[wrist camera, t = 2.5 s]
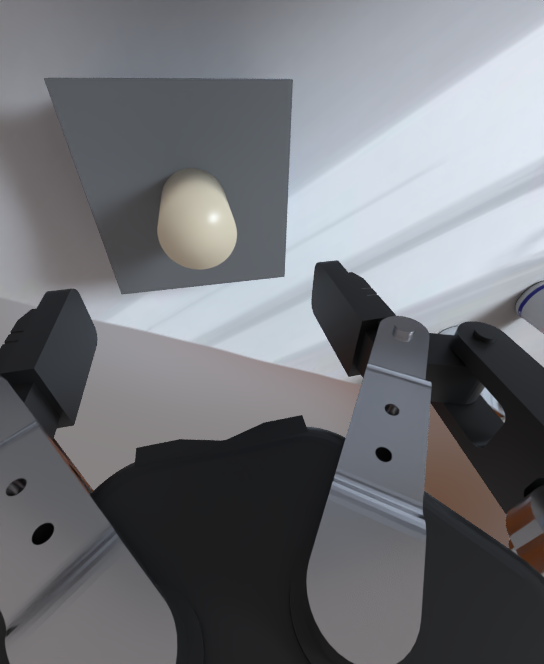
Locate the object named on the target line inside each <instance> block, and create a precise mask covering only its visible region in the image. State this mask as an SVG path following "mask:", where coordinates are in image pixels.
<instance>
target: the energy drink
mask: <svg viewBox="0 0 544 664" xmlns="http://www.w3.org/2000/svg"><path fill="white" fill-rule="evenodd" d="M516 313H517V314H518V315H519V316H521V317H522V318H523V319H525V320H526V321H527V322H529V323H530V324H531V325H533V326H534V327H535V328H537V329H538V330H539V331H541V332H542V333H543V334H544V281H542V282H539V283H537V284H535V285H533V286H532V287H530V288H529V289H527V290H526V291H525V292H524V293H523V294H522V295H521V296H520V298H519V299H518V301H517V303H516Z"/></svg>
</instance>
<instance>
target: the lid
mask: <svg viewBox="0 0 544 664" xmlns="http://www.w3.org/2000/svg"><path fill="white" fill-rule="evenodd" d="M44 80H45V83H46V86H47V88H48V91H49V94H50V97H51V100H52V102H53V105H54V108H55V111H56V113H57V116H58V119H59V122H60V124H61V127H62V130H63V133H64V136H65V138H66V141H67V144H68V147H69V149H70V152H71V155H72V158H73V160H74V163H75V166H76V169H77V172H78V174H79V177H80V180H81V183H82V185H83V188H84V191H85V194H86V197H87V199H88V202H89V205H90V208H91V210H92V213H93V216H94V219H95V221H96V224H97V227H98V230H99V233H100V235H101V238H102V241H103V244H104V246H105V249H106V252H107V255H108V258H109V260H110V263H111V266H112V269H113V271H114V274H115V277H116V280H117V282H118V285H119V288H120V291H121V294H130V293H139V292H148V291H157V290H166V289H176V288H185V287H194V286H203V285H212V284H222V283H231V282H240V281H249V280H258V279H268V278H277V277H284V274H285V251H286V227H287V203H288V179H289V156H290V132H291V108H292V84H293V80H292V79H201V78H44Z"/></svg>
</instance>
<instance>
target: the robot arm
mask: <svg viewBox="0 0 544 664" xmlns="http://www.w3.org/2000/svg"><path fill="white" fill-rule="evenodd" d="M312 309H313V313H314V315H315V317H316V319H317V321H318V322H319V324H320V326H321V328H322V330H323V331H324V333H325V335H326V337H327V339H328V341H329V342H330V344H331V346H332V348H333V350H334V351H335V353H336V355H337V357H338V359H339V360H340V362H341V364H342V366H343V368H344V369H345V371H346V373H347V375H348V377H350V376H355V375H361V376H362V377H363V381H362V385H361V388H360V392H359V395H358V398H357V402H356V405H355V408H354V412H353V415H352V419H351V422H350V425H349V429H348V432H347V435H346V438H345V437H343V436H341V435H339V434H336V433H333V432H331V431H328V430H324V429H320V428H314V427H306V425H305V422H304V419H303V416H302V415H301V416H296V417H290V418H285V419H280V420H276V421H270V422H266V423H262V424H260V425H258V426H256V427H254V428H251V429H249V430H247V431H245V432H243V433H241V434H238V435H236V436H234V437H232V438H230V439H227V440H223V441H214V440H182V439H179V440H175V441H169V442H164V443H159V444H154V445H149V446H144V447H140V448H136V458H135V462H134V463H132V464H130V465H128V466H126V467H124V468H123V469H121V470H119V471H118V472H116V473H115V474H113V475H112V476H111V477H109V478H108V479H107V480H105V481H104V482H103V483H102V484H101V485H100V486H98V487H97V488H96V489H95V490H93V489H92V488H91V486H90V485H89V484H88V483H87V481H86V480H85V479H84V477H83V476H82V475H81V473H80V472H79V471H78V469H77V468H76V467H75V465H74V464H73V463H72V461H71V460H70V459H69V457H68V456H67V455H66V453H65V452H64V451H63V450H62V448H61V447H60V445H59V444H58V443H57V441H56V440H55V439H54V435H55V432H56V429H57V428H61V427H67V426H72V425H74V424H75V420H76V417H77V413H78V410H79V406H80V402H81V399H82V395H83V392H84V388H85V385H86V381H87V378H88V374H89V371H90V367H91V364H92V360H93V356H94V353H95V350H96V346H97V333H96V329H95V326H94V324H93V322H92V320H91V317H90V315H89V313H88V311H87V309H86V307H85V305H84V302H83V300H82V298H81V296H80V294H79V292H78V291H77V290H76V289H66V290H57V291H48V292H46V293H45V295H44V297H43V298H42V300H41V302H40V304H39V305H38V307H37V309H32V310H30V311H29V312H28V313H27V314H25V315H24V316H23V317H21V318H20V319H19V320H18V321H17V322H16V324H15V326H14V327H13V329H12V330H11V334H10V335H8V337H7V338H6V340H5V344H3V345H2V346H1V348H0V664H544V368H543V367H542V366H541V365H540V364H539V363H538V362H537V361H536V360H534V359H533V358H532V357H531V356H530V355H529V354H528V353H527V352H525V351H524V350H523V349H522V348H521V347H520V346H519V345H517V344H516V343H515V342H514V341H513V340H512V339H511V338H510V337H508V336H507V335H506V334H505V333H504V332H502V331H501V330H499V329H497V328H496V327H493V326H491V325H488V324H485V323H481V322H465V323H462V324H460V325H459V326H458V328H457V330H456V332H455V334H454V335H446V334H433V333H429V332H428V330H427V329H426V327H425V326H423V325H422V324H421V323H419V322H418V321H416V320H414V319H411V318H408V317H403V316H396V315H395V314H394V313H393V311H392V310H391V309H390V308H389V307H388V306H387V305H386V303H385V302H384V301H383V300H382V299H381V298H380V297H379V296H378V295H377V293H376V292H375V291H374V290H373V289H371V286H370V285H369V284H368V283H367V282H366V281H365V280H364V279H363V278H362V277H360V276H358V275H356V274H354V273H353V272H349V273H348V272H347V271H346V269H345V268H344V267H343V266H342V265H341V263H340V262H339V261H337V260H336V261H327V262H318V263H317V264H316V266H315V271H314V280H313V290H312ZM484 388H486V389H487V390H488V391H489V392H490V393H491V395H492V396H493V397H494V398H495V399H496V400H497V401H498V402H499V404H500V405H501V406H502V408H503V410H504V413H505V422H503V421H502V420H501V418H500V417H499V416H498V415H497V414H496V412H495V411H494V410H493V409H492V408H491V407H490V405H489V404H488V403H487V402H486V401H485V399H484V398H483V397H482V396H481V395H480V394H481V392H482V391H483V389H484ZM430 403H431V404H432V406H433V407H434V409H435V410H436V412H437V413H438V415H439V416H440V417H441V419H442V420H443V422H444V423H445V425H446V426H447V428H448V429H449V431H450V432H451V434H452V435H453V437H454V438H455V439H456V441H457V442H458V444H459V446H460V447H461V448H462V450H463V451H464V453H465V454H466V456H467V457H468V459H469V460H470V462H471V463H472V465H473V466H474V468H475V469H476V470H477V472H478V473H479V475H480V476H481V478H482V479H483V481H484V482H485V484H486V485H487V487H488V488H489V490H490V491H491V493H492V494H493V496H494V497H495V498H496V500H497V502H498V503H499V505H500V506H501V507H502V509H503V510H504V512H505V513H506V520H505V521H506V529H507V533H508V535H509V538H510V540H509V548H507V547H506V546H504V545H503V544H501V543H500V542H498V541H497V540H495V539H494V538H493V537H491V536H489V535H488V534H487V533H485V532H483V531H482V530H481V529H479V528H478V527H476V526H475V525H473V524H472V523H470V522H469V521H467V520H466V519H465V518H463V517H462V516H460V515H459V514H457V513H456V512H454V511H453V510H451V509H450V508H448V507H447V506H445V505H444V504H443V503H441V502H439V501H438V500H437V499H435V498H434V497H432V496H431V495H429V494H428V493H426V492H425V491H424V481H425V467H426V455H427V442H428V429H429V428H428V427H429V415H430Z"/></svg>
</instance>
